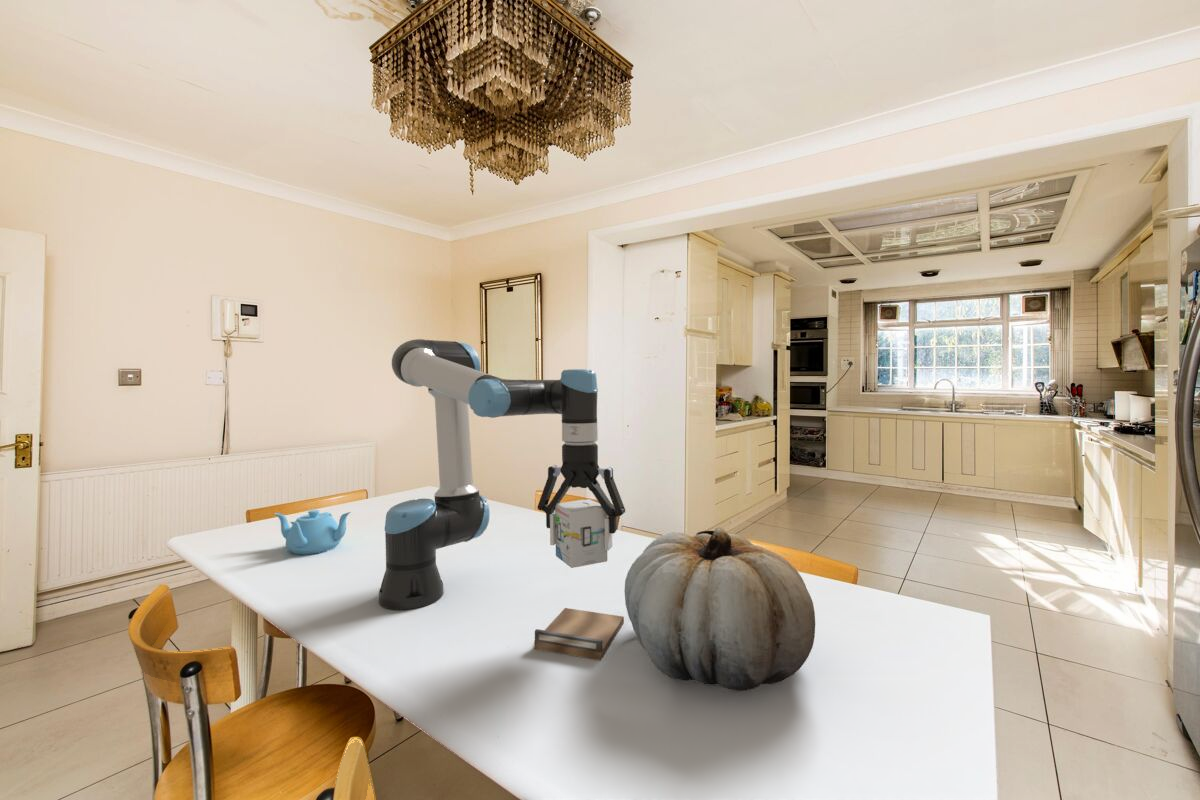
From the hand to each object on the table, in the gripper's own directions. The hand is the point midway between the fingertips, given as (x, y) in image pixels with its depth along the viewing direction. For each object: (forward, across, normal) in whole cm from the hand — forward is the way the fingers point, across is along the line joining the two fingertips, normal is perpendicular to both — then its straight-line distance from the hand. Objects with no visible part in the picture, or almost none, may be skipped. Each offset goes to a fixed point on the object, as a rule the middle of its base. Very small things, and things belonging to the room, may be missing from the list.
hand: (581, 545), depth 107 cm
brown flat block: (+19, 0, -1) cm, 19 cm away
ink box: (+3, 0, 0) cm, 3 cm away
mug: (+19, +23, +49) cm, 58 cm away
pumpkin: (+19, +27, 0) cm, 33 cm away
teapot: (+18, -103, +25) cm, 107 cm away
